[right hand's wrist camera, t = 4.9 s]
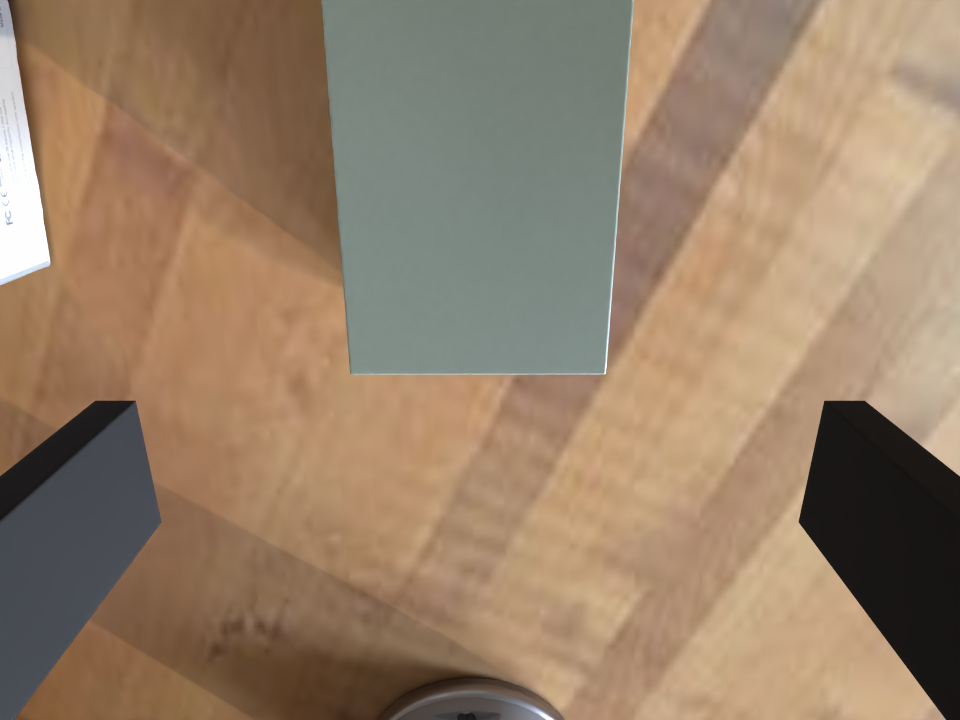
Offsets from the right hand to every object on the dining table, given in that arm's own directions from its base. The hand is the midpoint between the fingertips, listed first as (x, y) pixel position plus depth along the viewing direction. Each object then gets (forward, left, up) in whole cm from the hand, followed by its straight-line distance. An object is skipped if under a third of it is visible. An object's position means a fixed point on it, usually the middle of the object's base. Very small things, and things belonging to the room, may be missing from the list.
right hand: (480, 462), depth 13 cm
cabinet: (+4, -4, -24) cm, 25 cm away
